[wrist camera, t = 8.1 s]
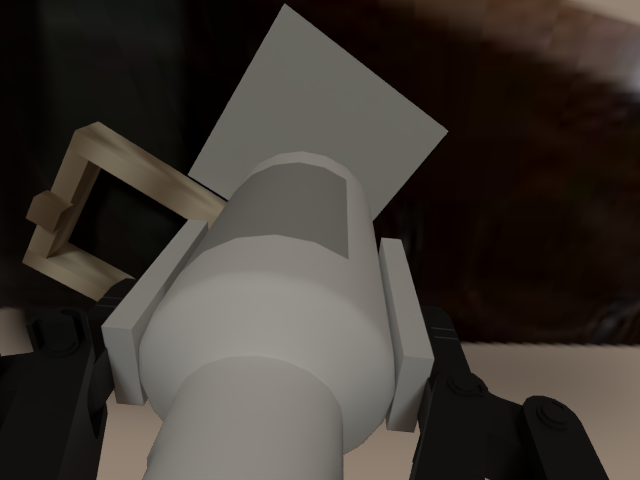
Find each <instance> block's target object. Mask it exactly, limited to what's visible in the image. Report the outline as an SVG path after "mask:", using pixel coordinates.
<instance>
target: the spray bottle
mask: <svg viewBox="0 0 640 480" xmlns="http://www.w3.org/2000/svg"><path fill="white" fill-rule="evenodd" d="M139 378H140V381H141V383H142V385H143V388H144V390H145V392H146V395H147V397H148V399H149V401H150V404H151V406H152V408H153V410H154V411H155V412H156V414H157V415H158V416H159V417H160V418H161V419H162V420H163V424H162V427H161V429H160V431H159V433H158V436H157V437H156V440H155V442H154V444H153V446H152V448H151V451H150V453H149V455H148V458H147V470H146V472H145V474H144V477H143V479H142V480H343V455H344V454H345V453H348V452H350V451H352V450H353V449H355V448H357V447H358V446H360V445H361V444H362V443H364V441H365V440H366V439H367V438H368V437H369V436H370V435H371V434H372V433H373V432H374V431H375V430H376V429H377V428H378V427H379V426H380V425H381V424H382V422H383V421H384V418H385V416H386V414H387V411H388V409H389V406H390V403H391V401H392V398H393V396H394V392H395V367H394V353H393V347H392V340H391V334H390V328H389V322H388V316H387V309H386V303H385V297H384V291H383V285H382V278H381V272H380V266H379V260H378V253H377V247H376V241H375V235H374V229H373V222H372V216H371V210H370V204H369V201H368V199H367V196H366V194H365V192H364V190H363V187H362V185H361V183H360V182H359V181H358V180H357V179H356V178H355V177H354V176H353V175H352V173H351V172H350V171H349V170H348V169H347V168H346V167H344V166H343V165H341V164H339V163H337V162H336V161H334V160H332V159H330V158H328V157H327V156H323V155H319V154H314V153H309V152H304V151H300V152H291V153H282V154H278V155H276V156H274V157H271V158H269V159H267V160H265V161H263V162H261V163H259V164H258V165H257V166H256V167H255V168H254V169H253V170H252V171H251V172H250V173H248V174H247V175H246V176H245V177H244V179H243V180H242V182H241V183H240V185H239V186H238V188H237V189H236V190H235V192H234V193H233V195H232V196H231V198H230V199H229V201H228V202H227V204H226V205H225V207H224V208H223V210H222V211H221V213H220V214H219V216H218V217H217V219H216V220H215V222H214V223H213V225H212V226H211V228H210V229H209V231H208V232H207V234H206V235H205V237H204V238H203V240H202V241H201V243H200V244H199V246H198V247H197V249H196V250H195V251H194V253H193V254H192V256H191V257H190V259H189V260H188V262H187V263H186V265H185V266H184V268H183V269H182V271H181V272H180V274H179V275H178V277H177V278H176V280H175V281H174V283H173V284H172V286H171V287H170V289H169V290H168V292H167V293H166V295H165V296H164V298H163V299H162V301H161V302H160V304H159V305H158V307H157V308H156V310H155V311H154V313H153V315H152V318H151V320H150V322H149V324H148V326H147V328H146V331H145V333H144V335H143V337H142V339H141V343H140V347H139Z"/></svg>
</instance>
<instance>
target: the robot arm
mask: <svg viewBox="0 0 640 480" xmlns="http://www.w3.org/2000/svg"><path fill="white" fill-rule="evenodd" d="M207 232H208V221H201V220H191V219H189V220H188V221H187V222H186V223H185V225H184V226H183V227H182V228H181V229H180V231H179V232H178V233H177V234H176V236H175V237H174V238H173V239H172V240H171V242H170V243H169V244H168V245H167V247H166V248H165V249H164V250H163V251H162V253H161V254H160V255H159V256H158V258H157V259H156V260H155V261H154V262H153V264H152V265H151V266H150V267H149V269H148V270H147V271H146V272H145V273H144V275H143V276H142V277H141V278H140V279H132V278H125V279H123V280H121V281H120V282H118V283H116V284H114V285H113V286H111V287H110V289H109V290H108V291H107V292H106V293H105V294H104V295H103V298H101V299H100V300H99V301H98V302H97V303H96V306H93V307H92V309H91V310H90V311H89V312H88V313H87V314H86V313H85V312H84V311H83V310H82V309H80V308H76V307H58V308H53V309H50V310H47V311H45V312H42V313H40V314H38V315H37V316H35V317H34V318H32V319H31V320H30V321H29V323H28V324H27V325H26V328H27V331H28V334H29V337H30V340H31V344H32V347H33V350H34V352H31V353H24V354H16V355H8V356H1V354H0V480H96V478H97V472H98V466H99V461H100V455H101V449H102V443H103V437H104V432H105V426H106V420H107V415H108V413H107V405H106V400H107V399H108V397H109V396H110V394H111V392H112V391H113V389H114V391H115V397H116V402H117V403H119V404H129V405H130V404H131V405H139V406H144V404H145V402H146V401H147V399H148V397H147V395H146V392H145V390H144V388H143V385H142V383H141V381H140V378H139V347H140V343H141V339H142V337H143V335H144V333H145V331H146V328H147V326H148V324H149V322H150V320H151V318H152V315H153V313H154V311H155V310H156V308H157V307H158V305H159V304H160V302H161V301H162V299H163V298H164V296H165V295H166V293H167V292H168V290H169V289H170V287H171V286H172V284H173V283H174V281H175V280H176V278H177V277H178V275H179V274H180V272H181V271H182V269H183V268H184V266H185V265H186V263H187V262H188V260H189V259H190V257H191V256H192V254H193V253H194V251H195V250H196V249H197V247H198V246H199V244H200V243H201V241H202V240H203V238H204V237H205V235H206V234H207ZM378 260H379V266H380V272H381V278H382V285H383V291H384V297H385V303H386V309H387V316H388V322H389V328H390V334H391V340H392V347H393V353H394V367H395V392H394V396H393V398H392V401H391V403H390V406H389V409H388V411H387V414H386V416H385V418H386V426H387V430H393V431H404V432H414V430H415V427H416V423H417V420H418V423H419V429H420V437H419V440H418V443H417V447H416V450H415V454H414V457H413V465H412V470H411V474H410V478H409V480H485V478H487V479H489V480H609V478H608V476H607V474H606V472H605V470H604V468H603V466H602V464H601V462H600V460H599V458H598V456H597V454H596V452H595V450H594V448H593V446H592V444H591V441H590V439H589V437H588V435H587V433H586V431H585V429H584V427H583V425H582V423H581V421H580V420H579V419H578V417H577V416H576V414H575V413H574V412H573V411H571V410H570V409H569V408H568V407H567V406H566V405H564V404H562V403H560V402H559V401H557V400H555V399H552V398H549V397H546V396H531V397H529V398H527V399H526V401H525V402H524V404H523V406H522V405H519V404H517V403H514V402H511V401H508V400H505V399H502V398H500V397H497V396H495V395H493V394H491V393H490V392H489V391H488V388H487V386H486V385H485V384H484V382H483V381H482V380H481V379H480V378H478V377H477V376H476V375H475V374H473V373H471V371H470V368H469V366H468V363H467V360H466V358H465V355H464V352H463V350H462V347H461V345H460V342H459V340H458V337H457V334H456V331H454V326H453V323H452V321H451V318H450V317H449V316H448V315H447V314H446V313H445V312H444V311H443V310H442V308H441V307H431V306H420V305H419V302H418V299H417V295H416V292H415V288H414V285H413V281H412V278H411V274H410V270H409V267H408V263H407V260H406V256H405V253H404V249H403V246H402V242H401V240H398V239H388V238H381V244H380V250H379V256H378Z"/></svg>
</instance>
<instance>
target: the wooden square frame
mask: <svg viewBox="0 0 640 480" xmlns="http://www.w3.org/2000/svg"><path fill="white" fill-rule="evenodd" d="M101 168H103V169H104V170H106V171H108V172H109V173H111V174H113V175H114V176H116V177H118V178H119V179H121V180H123V181H124V182H126V183H128V184H129V185H131V186H133V187H134V188H136V189H138V190H139V191H141V192H143V193H144V194H146V195H148V196H149V197H151V198H153V199H154V200H156V201H158V202H159V203H161V204H163V205H164V206H166V207H168V208H169V209H171V210H173V211H174V212H176V213H178V214H179V215H181V216H183V217H184V218H186V219H188V220H189V219H191V220H201V221H208V231H209V229H210V228H211V226H212V225H213V223H214V222H215V220H216V219H217V217H218V216H219V214H220V213H221V211H222V210H223V208H224V207H225V205H226V204H227V202H226V201H225V200H223V199H221V198H220V197H218V196H217V195H215V194H213V193H212V192H210V191H209V190H207V189H205V188H204V187H202V186H201V185H199V184H197V183H196V182H194V181H193V180H191V179H189V178H188V177H186V176H185V175H183V174H181V173H180V172H178V171H177V170H175V169H173V168H172V167H170V166H169V165H167V164H165V163H164V162H162V161H161V160H159V159H157V158H156V157H154V156H153V155H151V154H149V153H148V152H146V151H145V150H143V149H141V148H140V147H138V146H137V145H135V144H133V143H132V142H130V141H129V140H127V139H125V138H124V137H122V136H121V135H119V134H117V133H116V132H114V131H113V130H111V129H109V128H108V127H106V126H105V125H103V124H101V123H100V122H96V123H93V124H91V125H88V126H85V127H83V128H80V129H77V130H75V132H74V135H73V137H72V140H71V142H70V145H69V147H68V150H67V152H66V155H65V157H64V160H63V162H62V165H61V167H60V170H59V172H58V175H57V177H56V180H55V182H54V185H53V187H52V190H51V192H50V191H49V190H46V191H44V192H42V193H41V194H39V195H37V196H35V197H34V198H33V201H32V203H31V206H30V208H29V211H28V214H27V216H26V219H28V220H30V221H32V222H34V223H36V224H37V227H36V229H35V232H34V234H33V237H32V239H31V242H30V244H29V247H28V249H27V252H26V254H25V257H24V259H23V262H22V263H24V264H26V265H28V266H30V267H32V268H34V269H36V270H38V271H40V272H42V273H44V274H45V275H47V276H49V277H51V278H53V279H55V280H57V281H59V282H61V283H63V284H65V285H67V286H69V287H70V288H72V289H74V290H76V291H78V292H80V293H82V294H84V295H86V296H88V297H90V298H92V299H94V300H96V301H97V302H98V301H99V300H100V299H101V298H103V295H104V294H105V293H106V292H107V291H108V290H109V289H110V287H111V286H113V285H114V284H116V283H118V282H120V281H121V280H123V279H125V278H132V279H135V278H133V277H131V276H130V275H128V274H126V273H124V272H122V271H120V270H118V269H117V268H115V267H113V266H111V265H109V264H107V263H106V262H104V261H102V260H100V259H98V258H96V257H95V256H93V255H91V254H89V253H87V252H85V251H84V250H82V249H80V248H78V247H76V246H74V245H73V244H71V243H69V242H68V240H69V238H70V236H71V234H72V232H73V229H74V227H75V225H76V223H77V221H78V218H79V216H80V214H81V212H82V209H83V207H84V205H85V203H86V201H87V198H88V196H89V194H90V192H91V190H92V187H93V185H94V183H95V181H96V179H97V176H98V174H99V172H100V170H101Z"/></svg>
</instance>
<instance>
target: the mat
mask: <svg viewBox="0 0 640 480" xmlns="http://www.w3.org/2000/svg"><path fill="white" fill-rule="evenodd" d="M447 132H448V131H447V130H446V129H445V128H444V127H442V126H441V125H440V124H439V123H437V122H436V121H435V120H433V119H432V118H431V117H430V116H428V115H427V114H426V113H424V112H423V111H422V110H421V109H419V108H418V107H417V106H415V105H414V104H413V103H412V102H410V101H409V100H408V99H406V98H405V97H404V96H403V95H401V94H400V93H399V92H398V91H396V90H395V89H394V88H392V87H391V86H390V85H389V84H387V83H386V82H385V81H383V80H382V79H381V78H380V77H378V76H377V75H376V74H374V73H373V72H372V71H371V70H369V69H368V68H367V67H366V66H364V65H363V64H362V63H360V62H359V61H358V60H357V59H355V58H354V57H353V56H351V55H350V54H349V53H348V52H346V51H345V50H344V49H342V48H341V47H340V46H339V45H337V44H336V43H335V42H333V41H332V40H331V39H330V38H328V37H327V36H326V35H325V34H323V33H322V32H321V31H319V30H318V29H317V28H316V27H314V26H313V25H312V24H310V23H309V22H308V21H307V20H305V19H304V18H303V17H301V16H300V15H299V14H298V13H296V12H295V11H294V10H292V9H291V8H290V7H289V6H287V5H286V4H284V5H283V7H282V9H281V11H280V12H279V14H278V16H277V18H276V19H275V21H274V23H273V25H272V27H271V28H270V30H269V32H268V34H267V35H266V37H265V39H264V41H263V42H262V44H261V46H260V48H259V50H258V51H257V53H256V55H255V57H254V58H253V60H252V62H251V64H250V66H249V67H248V69H247V71H246V73H245V74H244V76H243V78H242V80H241V81H240V83H239V85H238V87H237V89H236V90H235V92H234V94H233V96H232V97H231V99H230V101H229V103H228V105H227V106H226V108H225V110H224V112H223V113H222V115H221V117H220V119H219V120H218V122H217V124H216V126H215V128H214V129H213V131H212V133H211V135H210V136H209V138H208V140H207V142H206V144H205V145H204V147H203V149H202V151H201V152H200V154H199V156H198V158H197V160H196V161H195V163H194V165H193V167H192V168H191V170H190V172H189V174H188V175H189V176H191V177H192V178H194V179H195V180H197V181H199V182H200V183H202V184H203V185H205V186H206V187H208V188H210V189H211V190H213V191H214V192H216V193H218V194H219V195H221V196H222V197H224V198H226V199H227V200H229V199H230V198H231V196H232V195H233V193H234V192H235V190H236V189H237V188H238V186H239V185H240V183H241V182H242V180H243V179H244V177H245V176H246V175H247V174H248V173H250V172H251V171H252V170H253V169H254V168H255V167H256V166H257V165H258V164H259V163H261V162H263V161H265V160H267V159H269V158H271V157H274V156H276V155H278V154H282V153H291V152H300V151H304V152H309V153H314V154H319V155H323V156H327V157H328V158H330V159H332V160H334V161H336V162H337V163H339V164H341V165H343V166H344V167H346V168H347V169H348V170H349V171H350V172H351V173H352V175H353V176H354V177H355V178H356V179H357V180H358V181H359V182H360V183H361V185H362V187H363V190H364V192H365V194H366V196H367V199H368V201H369V204H370V210H371V216H372V222H373V220H374V219H375V218H376V217H377V216H378V214H379V213H380V212H381V211H382V210H383V208H384V207H385V206H386V205H387V204H388V202H389V201H390V200H391V199H392V198H393V197H394V195H395V194H396V193H397V192H398V191H399V189H400V188H401V187H402V186H403V185H404V183H405V182H406V181H407V180H408V179H409V178H410V176H411V175H412V174H413V173H414V172H415V170H416V169H417V168H418V167H419V166H420V164H421V163H422V162H423V161H424V160H425V158H426V157H427V156H428V155H429V154H430V153H431V151H432V150H433V149H434V148H435V147H436V145H437V144H438V143H439V142H440V141H441V139H442V138H443V137H444V136H445V135H446V134H447Z"/></svg>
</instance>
